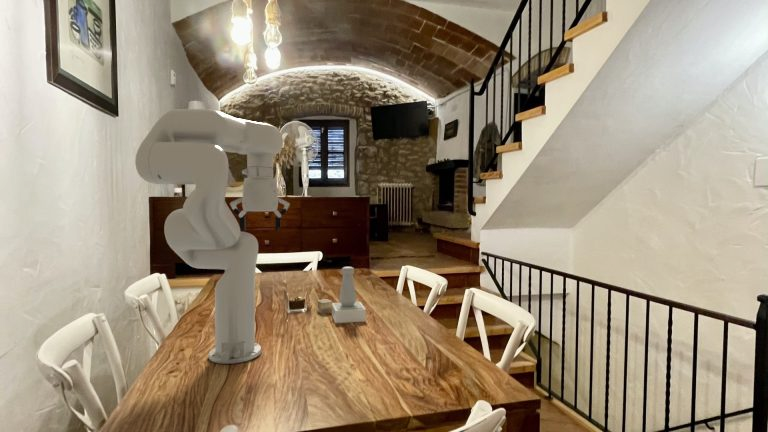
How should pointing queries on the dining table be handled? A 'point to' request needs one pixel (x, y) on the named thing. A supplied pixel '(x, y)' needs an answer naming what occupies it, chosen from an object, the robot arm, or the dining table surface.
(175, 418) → the dining table surface
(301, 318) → the dining table surface
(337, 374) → the dining table surface
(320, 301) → the tan block
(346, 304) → the salt shaker
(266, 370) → the dining table surface
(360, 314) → the base block
